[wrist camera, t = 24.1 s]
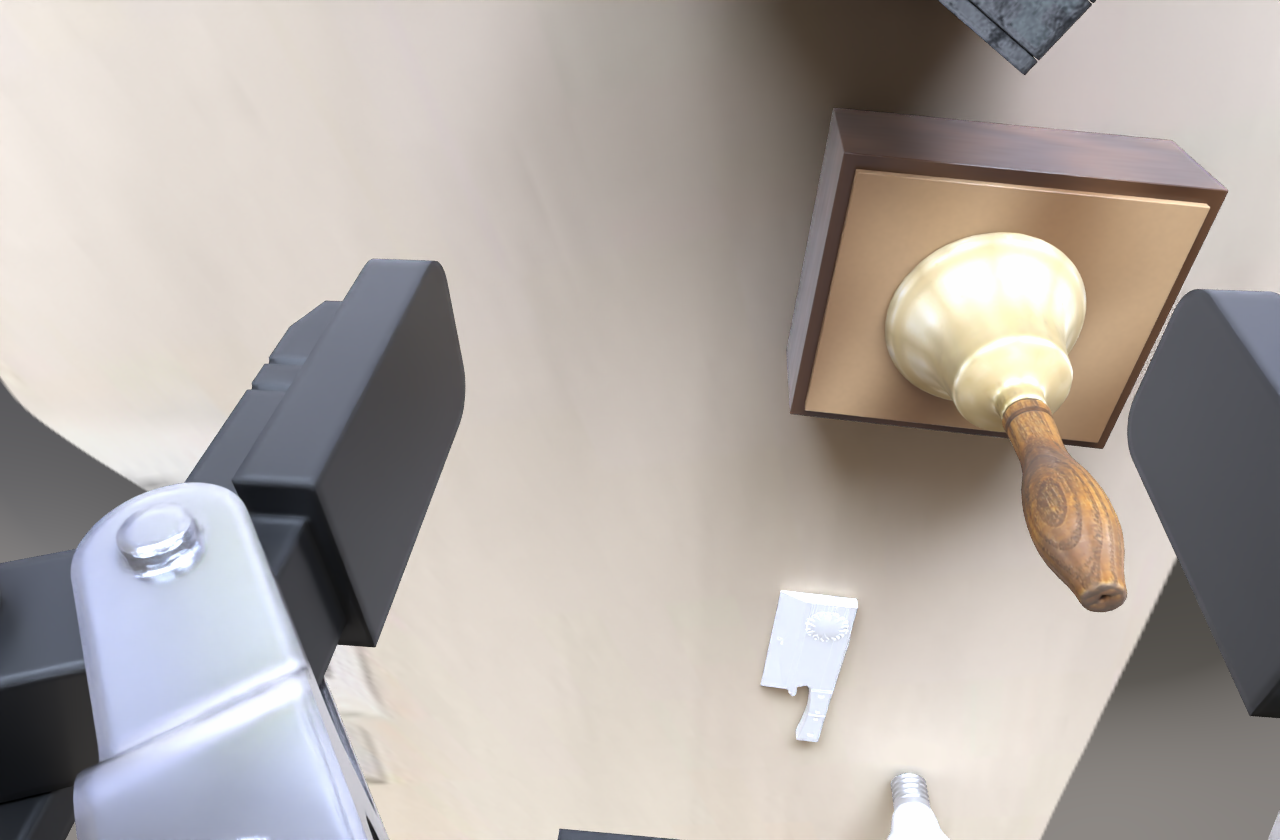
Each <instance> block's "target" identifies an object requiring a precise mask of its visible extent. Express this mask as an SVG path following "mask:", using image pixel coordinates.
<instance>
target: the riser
mask: <svg viewBox="0 0 1280 840" xmlns="http://www.w3.org/2000/svg"><path fill="white" fill-rule="evenodd" d="M1227 193H1228V190H1227V189H1226V188H1225V187H1224V186H1223V185H1222V184H1221V183H1220V182H1218V181H1217V180H1216V179H1215V178H1214V177H1213V176H1212V175H1211V174H1209V173H1208V172H1207V171H1206V170H1205V169H1204V168H1203V167H1202V166H1200V165H1199V164H1198V163H1197V162H1196V161H1195V160H1194V159H1193V158H1192V157H1190V156H1189V155H1188V154H1187V153H1186V152H1185V151H1184V150H1183V149H1181V148H1180V147H1179V146H1178V145H1177V144H1176V143H1175V142H1174V141H1172V140H1163V139H1153V138H1143V137H1132V136H1122V135H1112V134H1101V133H1091V132H1081V131H1070V130H1060V129H1050V128H1039V127H1029V126H1018V125H1008V124H998V123H987V122H977V121H967V120H956V119H946V118H936V117H925V116H915V115H905V114H894V113H884V112H873V111H863V110H853V109H842V108H833V112H832V117H831V123H830V128H829V133H828V138H827V143H826V148H825V154H824V159H823V164H822V169H821V174H820V179H819V185H818V190H817V195H816V200H815V205H814V211H813V216H812V221H811V226H810V231H809V236H808V242H807V247H806V252H805V257H804V262H803V267H802V273H801V278H800V283H799V288H798V293H797V298H796V304H795V309H794V314H793V319H792V324H791V329H790V335H789V340H788V345H787V350H786V353H787V370H788V387H789V404H790V414H795V415H804V416H813V417H822V418H831V419H840V420H849V421H858V422H867V423H876V424H885V425H893V426H902V427H911V428H920V429H929V430H938V431H947V432H956V433H965V434H974V435H983V436H992V437H1001V438H1009V437H1008V435H1007V433H1006V432H997V431H990V430H986V429H982V428H979V427H977V426H975V425H973V424H972V423H970V422H969V421H967V420H966V419H965V418H964V417H963V416H962V415H961V414H960V413H959V411H958V410H957V408H956V406H955V404H954V403H953V401H952V400H947V399H943V398H940V397H937V396H934V395H931V394H929V393H927V392H925V391H923V390H921V389H919V388H917V387H916V386H914V385H913V384H911V383H910V382H909V381H908V380H907V379H906V378H905V377H904V376H903V375H902V374H901V373H900V372H899V371H898V369H897V368H896V367H895V365H894V363H893V361H892V359H891V357H890V355H889V352H888V349H887V346H886V341H885V321H886V316H887V310H888V308H889V305H890V302H891V300H892V298H893V296H894V294H895V292H896V290H897V288H898V287H899V285H900V284H901V283H902V281H903V280H904V278H905V277H906V276H907V275H908V274H909V273H910V272H911V271H912V270H913V269H914V268H915V267H916V266H917V265H918V264H919V263H920V262H921V261H922V260H924V259H925V258H927V257H928V256H929V255H931V254H932V253H934V252H935V251H937V250H938V249H940V248H942V247H944V246H946V245H948V244H951V243H953V242H955V241H958V240H960V239H963V238H967V237H970V236H974V235H980V234H987V233H996V232H1010V233H1019V234H1024V235H1028V236H1032V237H1036V238H1038V239H1041V240H1043V241H1045V242H1047V243H1049V244H1051V245H1053V246H1054V247H1056V248H1057V249H1059V250H1060V251H1062V252H1063V253H1064V254H1065V255H1066V256H1067V257H1068V258H1069V259H1070V260H1071V261H1072V263H1073V264H1074V265H1075V267H1076V268H1077V270H1078V272H1079V274H1080V276H1081V278H1082V280H1083V283H1084V287H1085V292H1086V301H1087V302H1086V314H1085V319H1084V323H1083V326H1082V329H1081V332H1080V334H1079V337H1078V339H1077V341H1076V343H1075V345H1074V346H1073V348H1072V350H1071V351H1070V352H1069V354H1068V357H1069V360H1070V362H1071V366H1072V370H1073V379H1072V384H1071V388H1070V391H1069V394H1068V396H1067V398H1066V399H1065V401H1064V402H1063V404H1062V405H1061V406H1060V407H1059V408H1058V410H1057V411H1056V412H1054V413H1053V414H1052V415H1053V420H1054V422H1055V424H1056V426H1057V429H1058V432H1059V434H1060V437H1061V439H1062V442H1063V444H1064V445H1072V446H1081V447H1090V448H1099V449H1103V448H1104V446H1105V444H1106V442H1107V440H1108V438H1109V436H1110V433H1111V431H1112V429H1113V427H1114V425H1115V423H1116V421H1117V419H1118V417H1119V415H1120V413H1121V411H1122V409H1123V407H1124V405H1125V403H1126V401H1127V398H1128V396H1129V394H1130V392H1131V390H1132V388H1133V386H1134V384H1135V382H1136V380H1137V378H1138V376H1139V374H1140V372H1141V370H1142V368H1143V366H1144V364H1145V361H1146V359H1147V357H1148V355H1149V353H1150V351H1151V349H1152V347H1153V345H1154V343H1155V341H1156V339H1157V337H1158V335H1159V333H1160V331H1161V329H1162V327H1163V324H1164V322H1165V320H1166V318H1167V316H1168V314H1169V312H1170V310H1171V308H1172V306H1173V304H1174V302H1175V300H1176V298H1177V296H1178V294H1179V292H1180V289H1181V287H1182V285H1183V283H1184V281H1185V279H1186V277H1187V275H1188V273H1189V271H1190V269H1191V267H1192V265H1193V263H1194V261H1195V259H1196V257H1197V255H1198V252H1199V250H1200V248H1201V246H1202V244H1203V242H1204V240H1205V238H1206V236H1207V234H1208V232H1209V230H1210V228H1211V226H1212V224H1213V222H1214V220H1215V218H1216V215H1217V213H1218V211H1219V209H1220V207H1221V205H1222V203H1223V201H1224V199H1225V197H1226V195H1227Z"/></svg>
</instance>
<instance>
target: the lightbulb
mask: <svg viewBox="0 0 1280 840" xmlns="http://www.w3.org/2000/svg"><path fill="white" fill-rule="evenodd" d="M891 787H892V789H891V790H892V797H893V802H894V804H893V805H894V813H893V816H892V821H891V831H890V834H889V836H888V837H887V839H886V840H950V839H949V838H948V837H947V836H946V835H945V834H944V833H943V832H942V830H941V828H940V826H939V824H938V821H937V819H936V817H935V815H934V813H933V812H932V810H931V807H930V804H929V799H928V798H929V796H928V794H927V793H928V790H927V785H926V781H925V779H924V778H922V777H921V776H919V775H916V774H912V773H903V774H900V775H898V776H896V777H894V778H893V779H892V781H891Z"/></svg>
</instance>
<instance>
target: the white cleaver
mask: <svg viewBox="0 0 1280 840" xmlns="http://www.w3.org/2000/svg"><path fill="white" fill-rule="evenodd" d="M857 609H858V604H857V599H853V598H844V597H835V596H826V595H817V594H809V593H800V592H791V591H782V590H781V593H780V597H779V602H778V606H777V611H776V616H775V620H774V625H773V630H772V634H771V639H770V643H769V648H768V653H767V657H766V662H765V667H764V671H763V676H762V680H761V686H767V687H775V688H784V689H788V690H789V694H790V695H792V696H794V695H795V694H796V691H797V686H800V687H802V686H808V689H809V696H808V703H807V707H806V709H805V712H804V714H803V716H802V718H801V720H800V722H799V725H798V727H797V728H796V739H797V740H803V741H812V742H818V740H819V736H820V733H821V730H822V726H823V723H824V720H825V716H826V713H827V710H828V706H829V703H830V700H831V696H832V693H833V691H834V688H835V687H834V686H835V685H836V684H835V683H836V682H837V681H836V680H837V679H838V677H837V676H839V674H838V673H840V671H839V670H841V668H840V667H842V665H841V664H843V662H842V660H843V661H844V659H843V657H844V658H845V656H844V654H845V655H846V653H845V651H846V652H847V650H845V649H846V648H848V647H846V646H847V645H849V644H848V642H850V640H848V639H850V637H849V636H850V635H851V634H850V633H851V629H852V626H853V623H854V619H855V616H856V613H857Z"/></svg>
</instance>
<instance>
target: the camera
mask: <svg viewBox="0 0 1280 840" xmlns="http://www.w3.org/2000/svg"><path fill="white" fill-rule="evenodd" d="M938 1H939V2H940V3H942V4H943V5H944V6H945V7H946V8H947V9H949V10H950V11H951V12H952V13H953V14H954V15H955V16H957V17H958V18H959V19H960V20H961V21H962V22H964V23H965V24H966V25H967V26H968V27H969V28H970V29H972V30H973V31H974V32H975V33H976V34H977V35H979V36H980V37H981V38H982V39H983V40H984V41H985V42H987V43H988V44H989V45H990V46H991V47H992V48H994V49H995V50H996V51H997V52H998V53H999V54H1000V55H1002V56H1003V57H1004V58H1005V59H1006V60H1007V61H1008V62H1010V63H1011V64H1012V65H1013V66H1014V67H1015V68H1017V69H1018V70H1019V71H1020V72H1021V73H1022V74H1024V75H1026V74H1027V72H1028V71H1029V70H1030V69H1031V68H1032V67H1033V66H1034V65H1035V64H1036V63H1037V60H1036V59H1035V58H1037V59H1038V60H1040V59H1041V58H1042V57H1043V56H1044V55H1045V54H1046V52H1047V51H1048V50H1049V49H1050V48H1051V47H1052V46H1053V45H1054V44H1055V43H1056V42H1057V41H1058V40H1059V39H1060V38H1061V37H1062V36H1063V35H1064V34H1065V33H1066V31H1067V30H1068V29H1069V28H1070V27H1071V26H1072V25H1073V24H1074V23H1075V22H1076V21H1077V20H1078V19H1079V18H1080V17H1081V16H1082V15H1083V14H1084V13H1085V12H1086V10H1087V9H1088V8H1089V7H1090V6H1091V5H1092V4H1091V3H1090V2H1089V1H1088V0H938ZM1090 1H1091V2H1093V3H1094V2H1095V1H1096V0H1090ZM1034 57H1035V58H1034Z"/></svg>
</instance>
